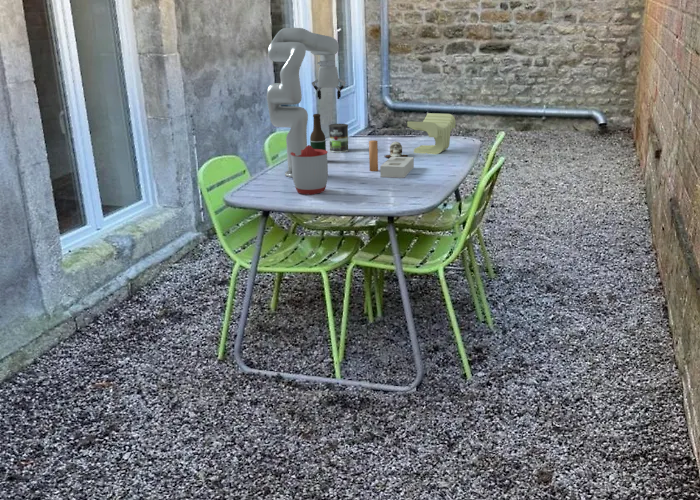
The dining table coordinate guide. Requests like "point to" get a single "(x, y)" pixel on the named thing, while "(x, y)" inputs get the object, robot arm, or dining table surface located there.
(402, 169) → the block
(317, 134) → the beer bottle
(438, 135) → the slatted curved stool
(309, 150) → the citrus juicer
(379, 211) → the dining table surface
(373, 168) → the peg
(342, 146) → the coffee can
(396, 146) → the skull
